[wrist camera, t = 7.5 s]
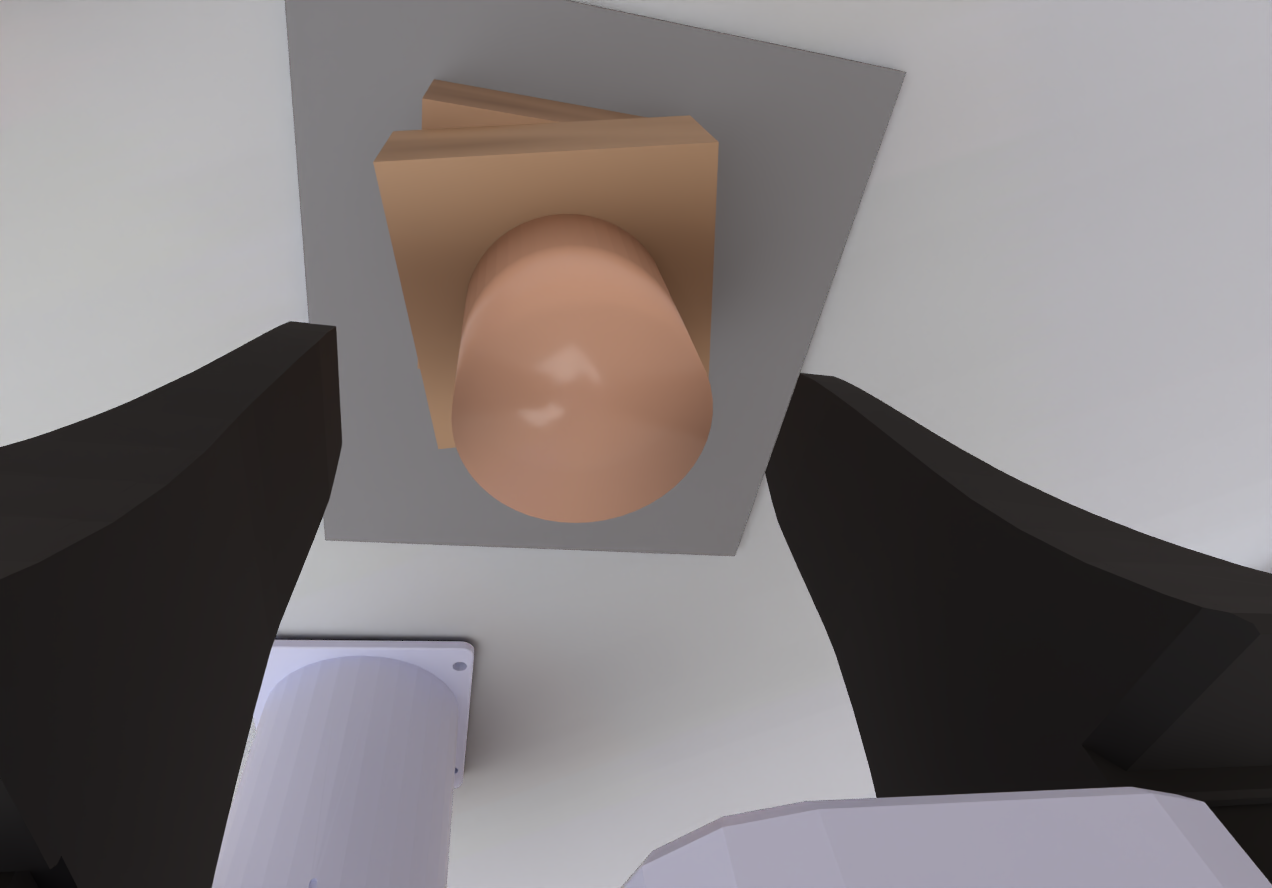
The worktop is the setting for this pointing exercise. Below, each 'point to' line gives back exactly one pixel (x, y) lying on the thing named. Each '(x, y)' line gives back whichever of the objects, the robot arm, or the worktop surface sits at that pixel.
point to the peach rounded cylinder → (576, 374)
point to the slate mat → (599, 78)
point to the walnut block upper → (542, 215)
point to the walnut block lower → (498, 109)
